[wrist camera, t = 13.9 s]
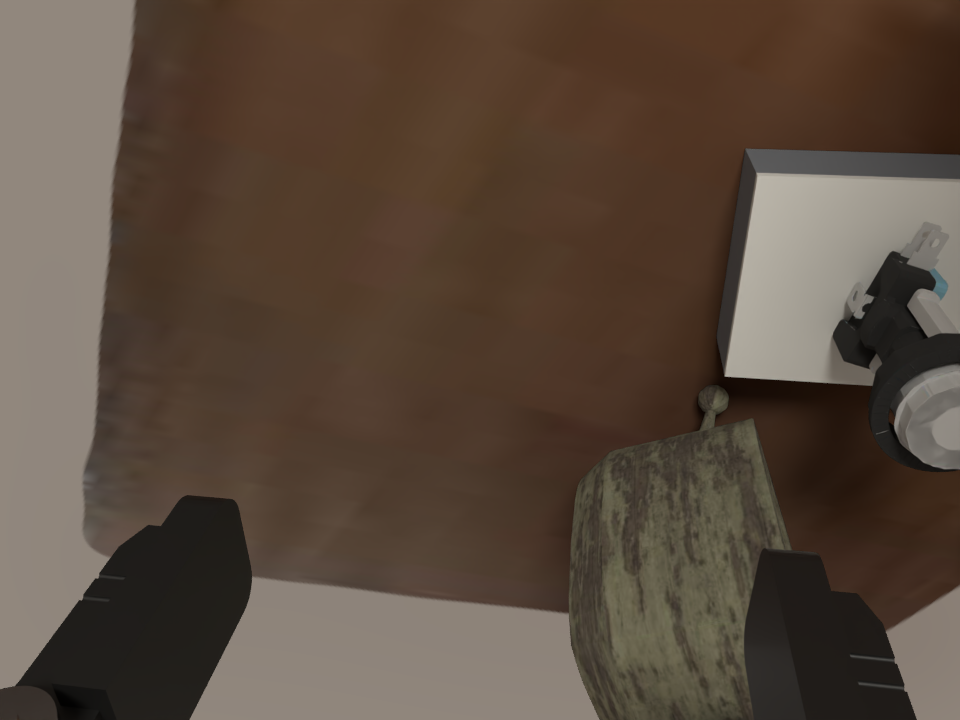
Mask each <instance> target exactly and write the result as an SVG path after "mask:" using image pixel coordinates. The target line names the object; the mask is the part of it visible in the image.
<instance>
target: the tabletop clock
mask: <svg viewBox="0 0 960 720" xmlns="http://www.w3.org/2000/svg"><path fill="white" fill-rule="evenodd" d="M728 401H729V396H728V394H727V392H726V391H725V389H724V388H722V387H720V386H718V385H709V386H706V387H705V388H704V389H703V390H701V392H700V393H699V397H698V404H699V406H700V408H701V409H702V410H703V411H704V412H706V413H705V416H704V419H703V421H702V424H701V427H700V430H699V431H696V432H692V433H687V434H683V435H679V436H675V437H670V438H666V439H662V440H657V441H653V442H649V443H644V444H640V445H636V446H631V447H627V448H623V449H618V450H614V451H610V452H609V453H608V454H607V455H606V456H605V457H604V458H603V459H602V460H601V461H600V462H599V463H598V464H597V465H596V466H595V467H593V468H592V469H591V470H590V471H589V472H588V473H587V474H586V475H585V476H584V477H583V478H582V479H581V481H580V483H579V484H578V488H577V492H576V498H575V507H574V517H573V526H572V536H571V556H570V579H569V622H570V635H571V646H572V650H573V653H574V657H575V660H576V663H577V667H578V670H579V673H580V675H581V678H582V681H583V683H584V686H585V688H586V690H587V693H588V695H589V697H590V699H591V702H592V704H593V706H594V708H595V710H596V713H597V715H598V717H599V719H600V720H754V717H753V711H752V705H751V699H750V692H749V686H748V680H747V674H746V667H745V659H744V630H745V622H746V616H747V612H748V607H749V603H750V598H751V593H752V589H753V584H754V580H755V575H756V570H757V566H758V561H759V557H760V554H761V551H762V549H764V548H770V549H781V550H792V548H791V544H790V541H789V537H788V534H787V531H786V527H785V524H784V520H783V517H782V513H781V510H780V507H779V503H778V500H777V496H776V493H775V489H774V486H773V483H772V479H771V476H770V473H769V469H768V466H767V462H766V459H765V456H764V452H763V449H762V446H761V442H760V439H759V436H758V432H757V429H756V426H755V423H754V420H753V418H752V419H748V420H744V421H739V422H735V423H731V424H726V425H722V426H718V427H714V424H715V415H718V414H720V413H721V412H723V411H724V410H725V409H726V408H727V407H728Z"/></svg>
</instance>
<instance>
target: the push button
mask: <svg viewBox="0 0 960 720" xmlns="http://www.w3.org/2000/svg"><path fill="white" fill-rule="evenodd" d="M928 230H930V233H929V234H928V236H927V238H926V239H924V238H923V237H922V235H923V233H924V232H925V231H928ZM941 230H942V228H941V226H939V225H936V224H933V223H930V222H924V223H923V225H922V226H921V228H920V229H919V231H918V233H917V234H916V236H915V238H914V239H913V241H912V243H911V244H910V243H907V244H906V246H905V248H904V249H903V251H902V253H898V252H895V251H891V252H890V253H889V255H888V256H887V258H886V259H885V261H884V263H883V264H882V266H881V268H880V270H879V271H878V273H877V275H876V276H875V278H874V280H873V281H872V283H871V285H870V286H869V288H868V290H867V291H866V290H865V289H864V287H863V285H862V284H861V282H858V283H857V284H856V285H855V287H854V288H853V290H852V292H851V294H850V295H849V297H848V300H847V304H848V306H849V308H850V309H851V311H852V313H853V315H852V316H851V318H850V320H849V321H847V320H844V319H842V320H840V322H839V323H838V325H837V326H836V328H835V330H834V332H833V339H834V341H835V343H836V346H837V348H838V350H839V352H840V354H841V356H842V359H843V361H844V362H847V363H851V364H854V365H857V366H860V367H863V368H867V369H870V370H871V372H872V373H873V374H875V377H874V381H873V386H872V390H871V394H870V399H869V403H868V408H869V424H870V428H871V431H872V433H873V435H874V437H875V440H876V442H877V443H878V445H879V446H880V448H881V449H882V450H883V451H884V452H885V453H886V454H887V455H888V456H889V457H891V458H892V459H894V460H895V461H897V462H899V463H900V464H903V465H905V466H907V467H911V468H914V469H918V470H922V471H930V472H949V471H957V470H960V333H959V331H958V330H957V329H956V327H955V326H954V325H953V323H952V322H951V321H950V319H949V318H948V317H947V315H946V314H945V313H944V311H943V310H942V309H941V307H940V306H939V305H938V304H939V302H940V300H942V299H943V297H944V296H945V294H946V292H947V290H948V283H947V282H946V281H945V280H944V279H943V278H942V277H941V275H940V274H939V273H938V272H937V270H936V269H935V268H934V267H935V266H936V264H937V263H938V261H939V259H937V256H938V255H939V253H940V251H941V250H942V248H943V247H944V245H945V243H946V242H947V240H948V239H949V235H948V234H946V233H943V232H940V231H941ZM935 239H939V241H940V243H939V245H938V246H936V247H931V246H932V244H933V243H934V241H935ZM856 292H858V296H857V299H856V300H855V301H854V296H855V294H856ZM890 408H891V410H892V412H893V414H894V416H895V422H894V426H893V425H892V424H891V423H889V422H888V415H889V409H890Z"/></svg>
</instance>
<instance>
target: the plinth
mask: <svg viewBox="0 0 960 720" xmlns="http://www.w3.org/2000/svg"><path fill="white" fill-rule="evenodd" d="M924 222H930V223H933V224H936V225H939V226H941V228H942V230H941V231H940V232H943V233H946V234H948V235H949V239H948V240H947V242H946V243H945V245H944V247H943V248H942V250H941V251H940V253H939V255H938V256H937V259H939V261H938V263H937V264H936V266H935V267H934V268H935V269H936V270H937V272H938V273H939V274H940V275H941V277H942V278H943V279H944V280H945V281H946V282H947V283H948V290H947V292H946V294H945V296H944V297H943V299H942V300H940V302H939V304H938V305H939V306H940V307H941V309H942V310H943V311H944V313H945V314H946V315H947V317H948V318H949V319H950V321H951V322H952V323H953V325H954V326H955V327H956V329H957V330H958V331H959V333H960V155H948V154H913V153H878V152H842V151H807V150H772V149H745V153H744V160H743V167H742V173H741V180H740V186H739V193H738V199H737V206H736V212H735V219H734V225H733V232H732V238H731V245H730V251H729V258H728V264H727V271H726V278H725V284H724V291H723V297H722V304H721V310H720V317H719V323H718V330H717V336H716V337H717V342H718V347H719V352H720V356H721V361H722V366H723V370H724V375H725V377H740V378H756V379H772V380H788V381H804V382H819V383H835V384H851V385H867V386H873V381H874V377H875V374H873V373H872V372H871V370H870V369H867V368H863V367H860V366H857V365H854V364H851V363H847V362H844V361H843V359H842V356H841V354H840V352H839V350H838V348H837V346H836V343H835V341H834V339H833V332H834V330H835V328H836V326H837V325H838V323H839V322H840V320H842V319H844V320H847V321H849V320H850V318H851V316H852V315H853V313H852V311H851V309H850V308H849V306H848V304H847V300H848V297H849V295H850V294H851V292H852V290H853V288H854V287H855V285H856V284H857V283H858V282H861V284H862V285H863V287H864V289H865V290H866V291H867V290H868V288H869V286H870V285H871V283H872V281H873V280H874V278H875V276H876V275H877V273H878V271H879V270H880V268H881V266H882V264H883V263H884V261H885V259H886V258H887V256H888V255H889V253H890V252H891V251H895V252H898V253H902V251H903V249H904V248H905V246H906V244H907V243H910V244H911V243H912V241H913V239H914V238H915V236H916V234H917V233H918V231H919V229H920V228H921V226H922V225H923V223H924ZM929 233H930V230H928V231H925V232H924V233H923V235H922V237H923V238H924V239H926V238H927V236H928V234H929ZM939 243H940V241H939V239H935V241H934V243H933V244H932V246H931V247H936V246H938V245H939ZM857 296H858V292H856V294H855V296H854V301H855V300H856V299H857Z"/></svg>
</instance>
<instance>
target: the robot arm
mask: <svg viewBox="0 0 960 720" xmlns="http://www.w3.org/2000/svg"><path fill="white" fill-rule="evenodd" d="M251 583H252V571H251V565H250V560H249V555H248V551H247V546H246V541H245V536H244V531H243V527H242V522H241V517H240V512H239V508H238V505H237V503H236V502H235V501H234V500H233V499H225V498H214V497H202V496H191V495H187V496H184V497H182V498H181V499H180V500H179V501H178V503H177V504H176V505H175V507H174V508H173V510H172V511H171V513H170V514H169V515H168V517H167V518H166V520H165V521H164V523H163V524H162V525H161V526H153V525H148V526H146V527H145V528H144V529H142V530H141V531H139V532H138V533H137V534H135V535H134V536H133V537H131V538H130V539H129V540H127V541H126V542H125V543H123V544H122V545H121V546H119V547H118V549H117V550H116V551H115V553H114V554H113V555H112V557H111V558H110V559H109V561H108V562H107V563H106V565H105V566H104V568H103V569H102V570H101V572H100V573H99V578H98V579H95V580H94V581H93V582H92V584H91V585H90V586H89V588H88V589H87V590H86V592H85V593H84V596H83V600H82V601H81V600H79V601H78V603H77V604H76V605H75V607H74V608H73V609H72V611H71V612H70V614H69V615H68V616H67V618H66V619H65V620H64V622H63V623H62V624H61V626H60V627H59V628H58V630H57V631H56V632H55V634H54V635H53V636H52V638H51V639H50V640H49V642H48V643H47V644H46V646H45V647H44V648H43V650H42V651H41V653H40V654H39V655H38V657H37V658H36V659H35V661H34V662H33V663H32V665H31V666H30V667H29V669H28V670H27V671H26V673H25V674H24V676H23V677H22V678H21V680H20V681H19V682H18V683H17V684H16V686H12V687H8V688H3V689H0V720H189V719H190V717H191V715H192V713H193V711H194V709H195V708H196V706H197V704H198V702H199V700H200V698H201V696H202V694H203V692H204V689H205V688H206V686H207V684H208V682H209V680H210V678H211V676H212V674H213V672H214V670H215V668H216V666H217V664H218V662H219V660H220V658H221V656H222V654H223V652H224V650H225V648H226V646H227V644H228V642H229V640H230V638H231V636H232V635H233V632H234V631H235V629H236V626H237V624H238V623H239V621H240V619H241V617H242V615H243V613H244V611H245V608H246V606H247V603H248V600H249V596H250V590H251ZM894 658H895V657H894V654H893V651H892V648H891V646H890V643H889V640H888V637H887V634H886V631H885V629H884V626H883V624H882V622H881V621H880V620H879V619H878V618H877V616H876V615H875V614H874V613H873V612H872V611H871V609H870V608H869V607H868V606H867V605H866V604H865V602H864V601H863V600H862V599H861V598H860V596H859V595H858V594H856V593H846V592H835V591H831V589H830V586H829V582H828V579H827V576H826V572H825V569H824V566H823V562H822V560H821V557H820V555H819V554H818V553H815V552H804V551H793V550H781V549H770V548H764V549H762V551H761V554H760V557H759V561H758V566H757V570H756V575H755V580H754V584H753V589H752V593H751V598H750V603H749V607H748V612H747V616H746V622H745V630H744V659H745V667H746V674H747V680H748V686H749V692H750V699H751V705H752V711H753V717H754V720H917V719H916V716H915V713H914V711H913V708H912V705H911V702H910V699H909V696H908V694H907V692H905V691H904V682H903V679H902V677H901V674H900V671H899V668H898V665H897V664H895V662H894Z"/></svg>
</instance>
